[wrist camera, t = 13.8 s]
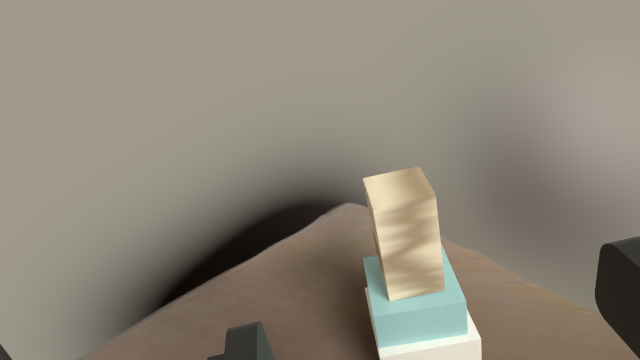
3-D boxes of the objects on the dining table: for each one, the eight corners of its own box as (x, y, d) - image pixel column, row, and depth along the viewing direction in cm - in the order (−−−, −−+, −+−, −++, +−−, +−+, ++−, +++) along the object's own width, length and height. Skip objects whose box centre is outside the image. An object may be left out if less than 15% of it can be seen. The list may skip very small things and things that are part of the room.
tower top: (379, 348, 42) (373, 316, 40) (368, 287, 49) (362, 258, 47) (467, 334, 41) (466, 301, 39) (443, 274, 48) (441, 244, 46)
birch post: (389, 301, 41) (372, 208, 36) (379, 265, 45) (362, 178, 40) (445, 290, 41) (435, 194, 36) (429, 255, 45) (418, 166, 40)
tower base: (385, 386, 43) (380, 357, 41) (369, 314, 51) (364, 287, 49) (481, 368, 42) (480, 338, 40) (450, 299, 50) (449, 271, 48)
